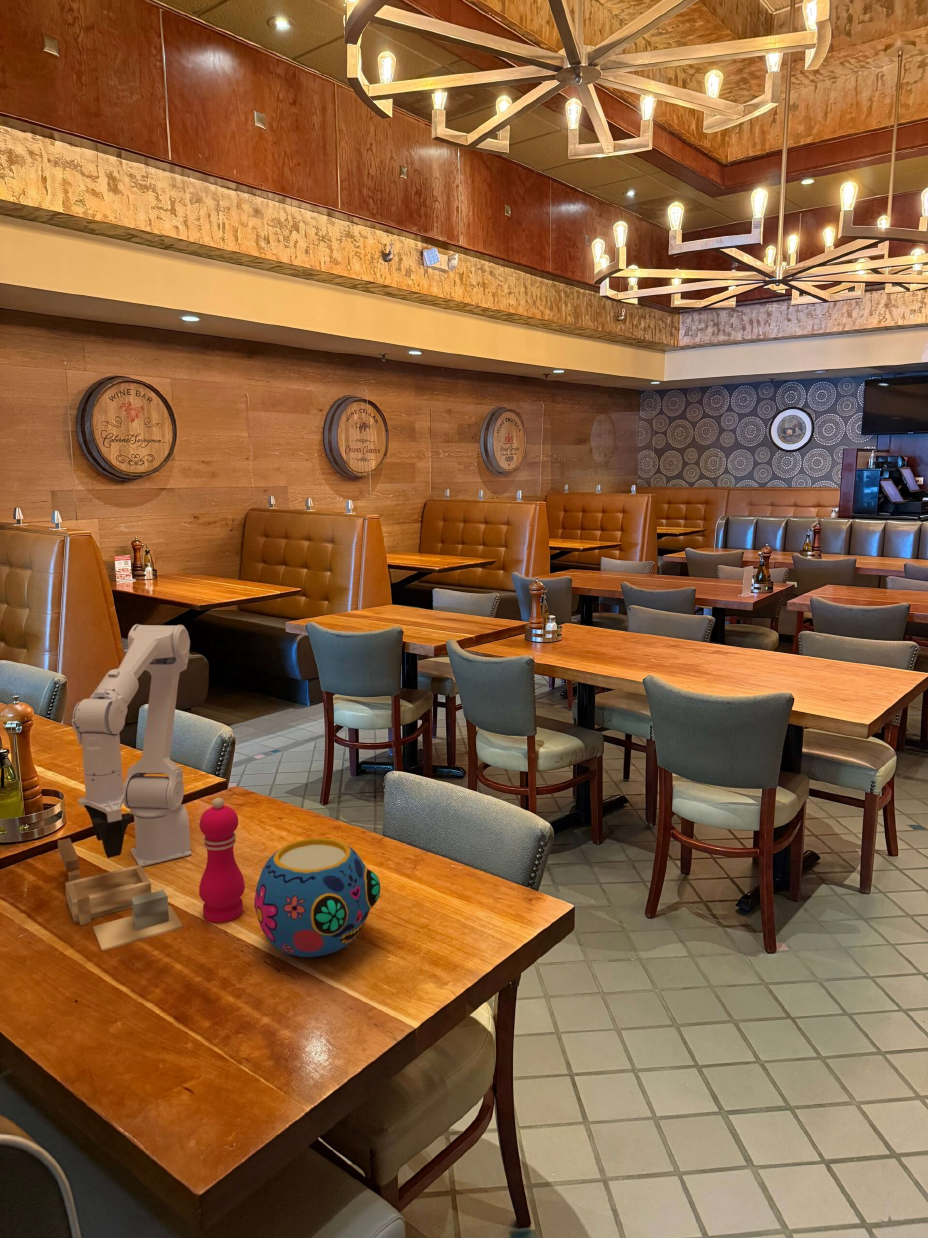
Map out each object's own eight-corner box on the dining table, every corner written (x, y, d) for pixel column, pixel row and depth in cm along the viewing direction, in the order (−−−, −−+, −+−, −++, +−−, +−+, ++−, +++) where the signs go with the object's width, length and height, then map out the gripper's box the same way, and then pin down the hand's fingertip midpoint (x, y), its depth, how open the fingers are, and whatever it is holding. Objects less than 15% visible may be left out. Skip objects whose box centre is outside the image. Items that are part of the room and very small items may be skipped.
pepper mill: (233, 927, 129) (227, 808, 126) (191, 922, 131) (185, 804, 127) (253, 904, 136) (248, 791, 133) (214, 900, 138) (208, 788, 134)
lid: (170, 909, 135) (169, 880, 135) (183, 930, 129) (181, 900, 128) (93, 931, 129) (90, 901, 128) (102, 954, 123) (100, 922, 122)
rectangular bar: (70, 847, 147) (69, 838, 147) (79, 869, 139) (78, 859, 138) (58, 850, 146) (57, 840, 145) (66, 872, 138) (65, 862, 137)
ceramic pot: (321, 994, 112) (319, 893, 110) (231, 955, 122) (227, 861, 119) (395, 935, 127) (395, 845, 125) (310, 904, 136) (308, 820, 134)
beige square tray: (139, 880, 144) (138, 856, 144) (154, 906, 136) (152, 881, 135) (65, 898, 138) (63, 873, 137) (75, 927, 129) (73, 901, 128)
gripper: (68, 761, 137) (75, 837, 139) (84, 788, 125) (91, 870, 127) (113, 754, 141) (118, 827, 143) (132, 779, 129) (138, 859, 131)
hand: (108, 847), depth 135 cm, fingers open, 7 cm apart
